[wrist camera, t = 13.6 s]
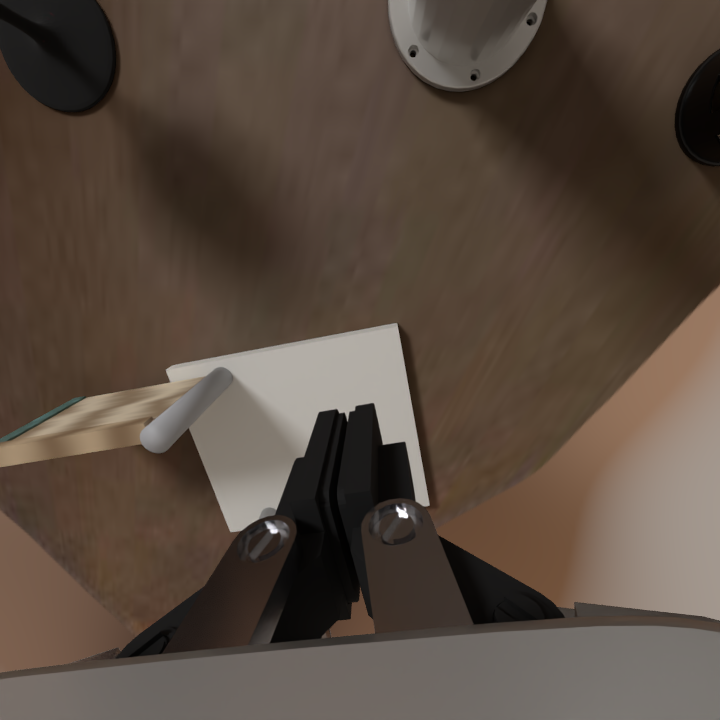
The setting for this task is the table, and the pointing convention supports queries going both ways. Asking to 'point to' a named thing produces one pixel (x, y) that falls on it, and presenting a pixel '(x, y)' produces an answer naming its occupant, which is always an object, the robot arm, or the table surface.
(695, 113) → the french press
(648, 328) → the table surface
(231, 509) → the white base with posts
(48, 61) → the wine glass
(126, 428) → the beige wavy patterned slab
